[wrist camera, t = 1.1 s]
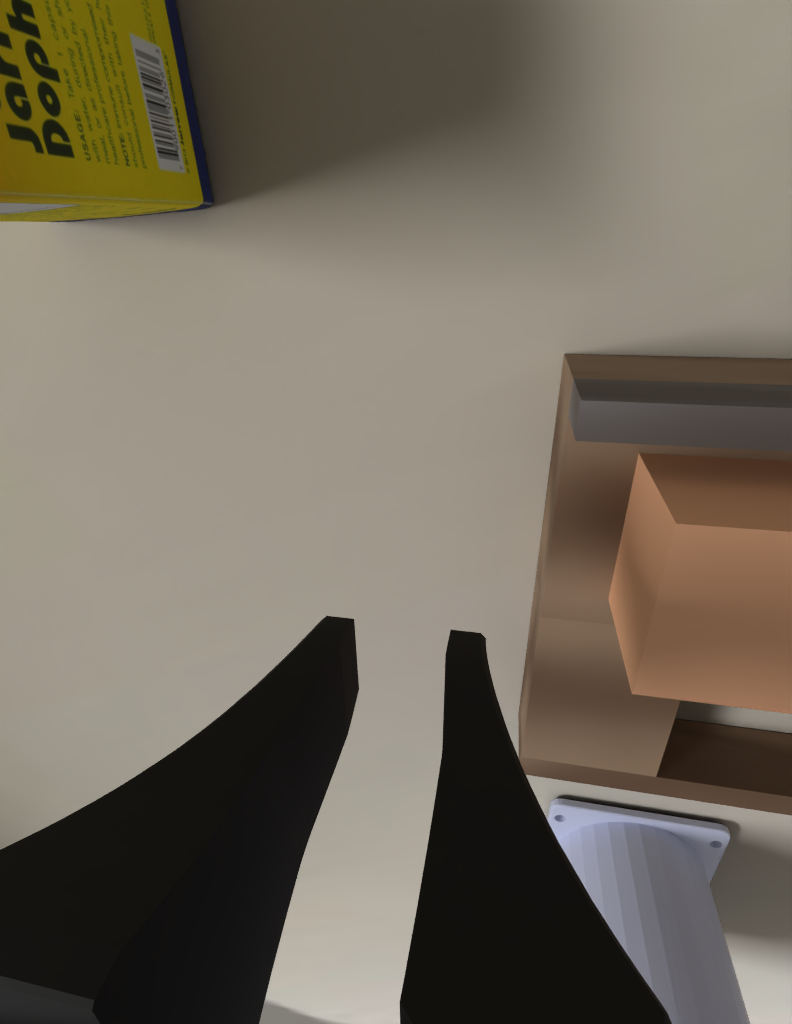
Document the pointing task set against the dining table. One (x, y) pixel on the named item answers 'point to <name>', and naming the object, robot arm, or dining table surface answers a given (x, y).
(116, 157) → the supplement box
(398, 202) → the dining table surface
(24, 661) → the dining table surface
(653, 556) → the block
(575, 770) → the deck
